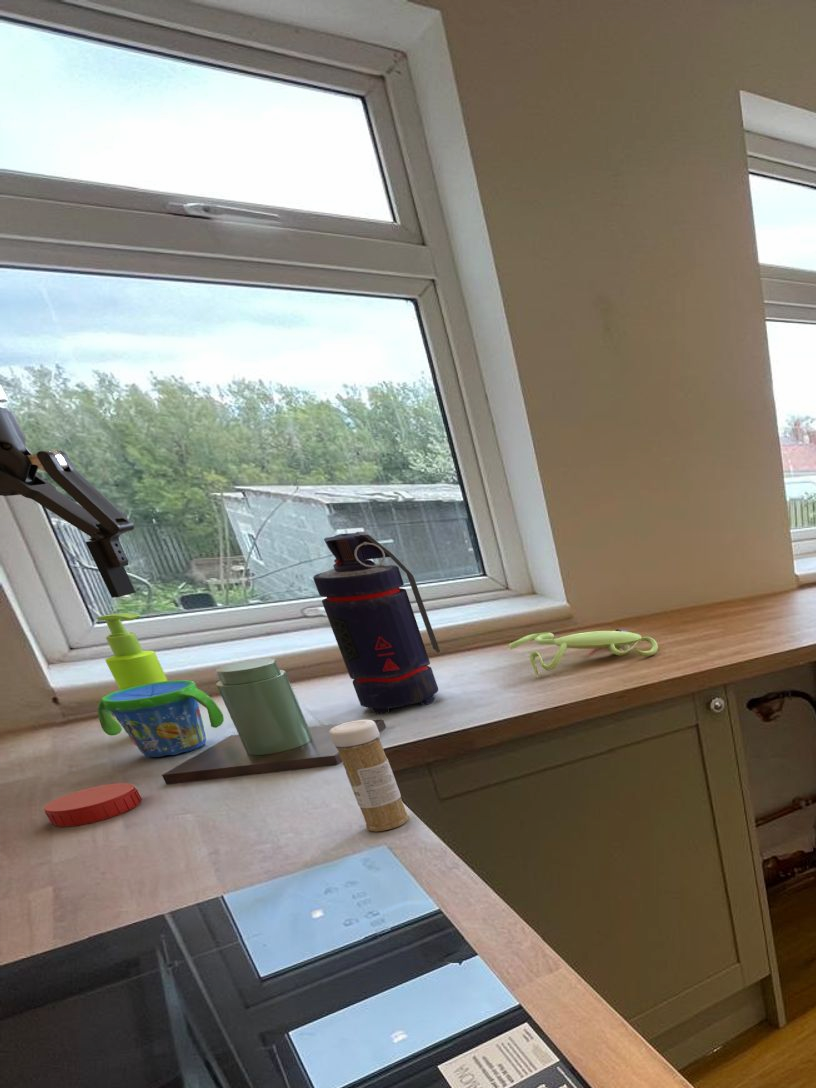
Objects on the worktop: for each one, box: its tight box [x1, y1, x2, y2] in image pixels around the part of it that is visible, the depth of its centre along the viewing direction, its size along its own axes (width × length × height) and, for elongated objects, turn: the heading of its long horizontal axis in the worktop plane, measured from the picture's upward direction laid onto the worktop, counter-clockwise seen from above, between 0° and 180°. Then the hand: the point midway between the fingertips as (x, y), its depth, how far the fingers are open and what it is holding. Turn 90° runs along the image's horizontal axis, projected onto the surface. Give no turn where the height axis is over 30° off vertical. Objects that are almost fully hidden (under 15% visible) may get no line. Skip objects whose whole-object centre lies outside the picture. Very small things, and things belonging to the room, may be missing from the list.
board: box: [161, 718, 387, 785], centre depth 126 cm, size 22×16×2 cm
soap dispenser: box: [96, 612, 169, 690], centre depth 136 cm, size 6×7×20 cm
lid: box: [43, 782, 143, 828], centre depth 109 cm, size 9×9×2 cm
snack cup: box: [97, 679, 225, 758], centre depth 128 cm, size 16×10×10 cm
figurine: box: [508, 628, 659, 678], centre depth 169 cm, size 18×27×6 cm
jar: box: [215, 657, 312, 755], centre depth 123 cm, size 8×8×13 cm
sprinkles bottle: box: [329, 719, 410, 832], centre depth 99 cm, size 5×5×13 cm
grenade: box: [312, 531, 441, 715], centre depth 142 cm, size 14×12×30 cm
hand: (56, 600), depth 96 cm, fingers open, 13 cm apart
